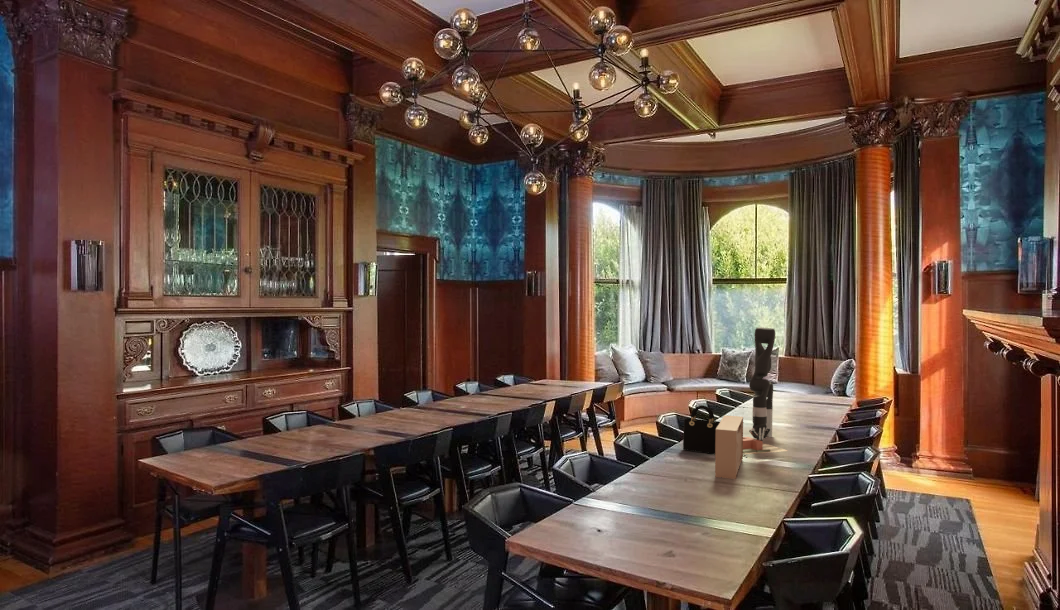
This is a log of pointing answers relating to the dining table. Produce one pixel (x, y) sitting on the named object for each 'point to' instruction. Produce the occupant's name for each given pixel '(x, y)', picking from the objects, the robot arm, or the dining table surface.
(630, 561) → the dining table surface
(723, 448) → the box
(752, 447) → the t block
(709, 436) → the handbag
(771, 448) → the board
